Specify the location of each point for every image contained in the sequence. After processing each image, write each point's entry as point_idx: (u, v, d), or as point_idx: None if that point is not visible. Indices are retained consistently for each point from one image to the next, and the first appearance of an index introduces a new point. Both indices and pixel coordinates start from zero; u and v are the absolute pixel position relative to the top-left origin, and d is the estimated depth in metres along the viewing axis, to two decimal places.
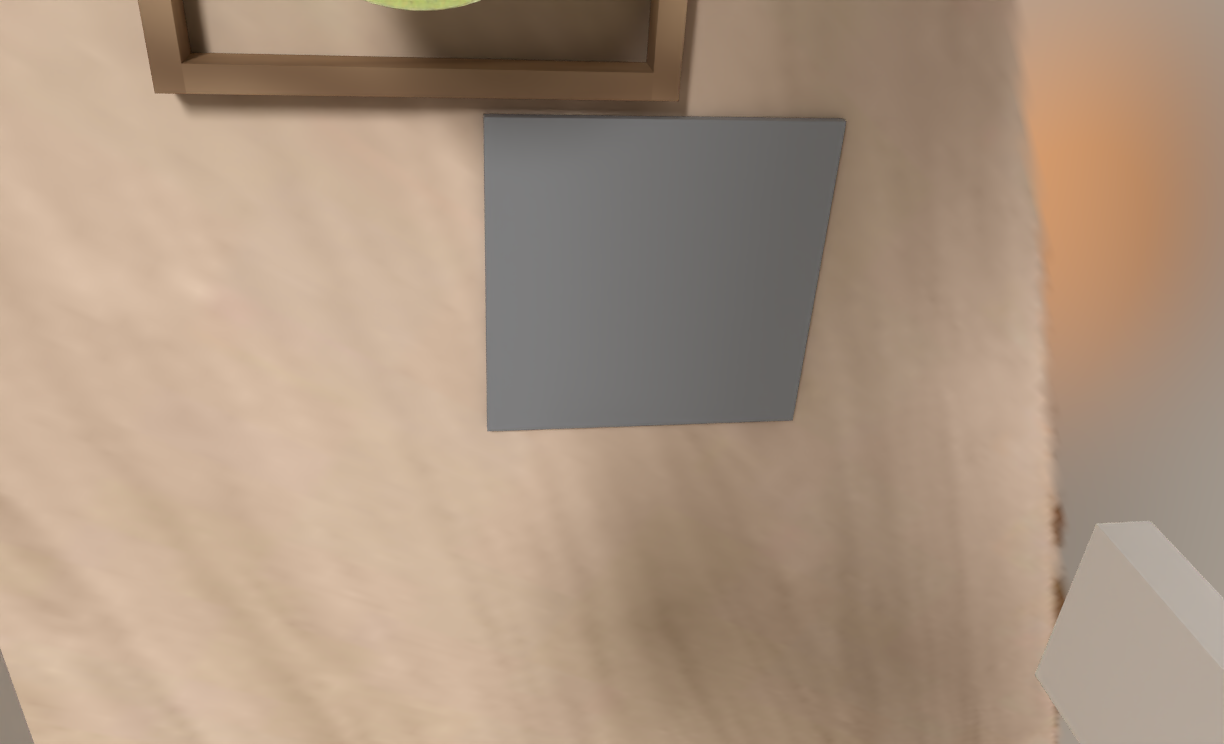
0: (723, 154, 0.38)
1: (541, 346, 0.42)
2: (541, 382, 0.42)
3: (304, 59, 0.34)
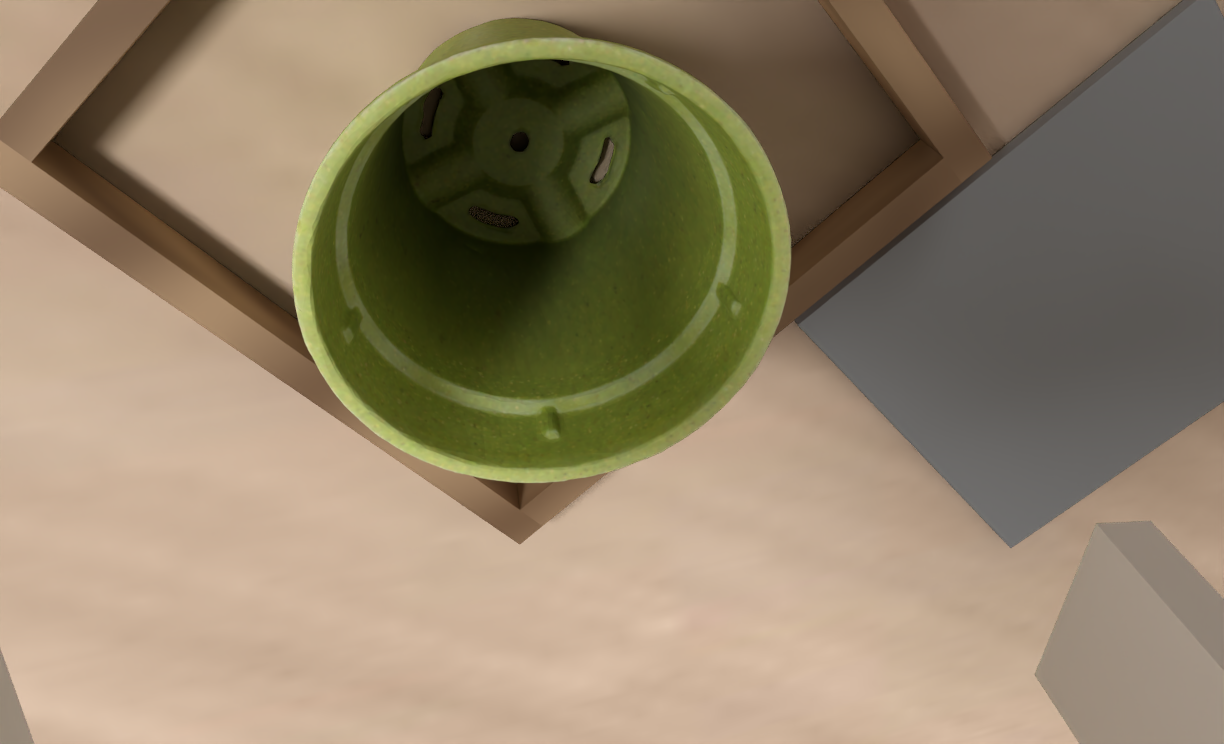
0: (1078, 146, 0.28)
1: (1010, 449, 0.34)
2: (1033, 476, 0.35)
3: None
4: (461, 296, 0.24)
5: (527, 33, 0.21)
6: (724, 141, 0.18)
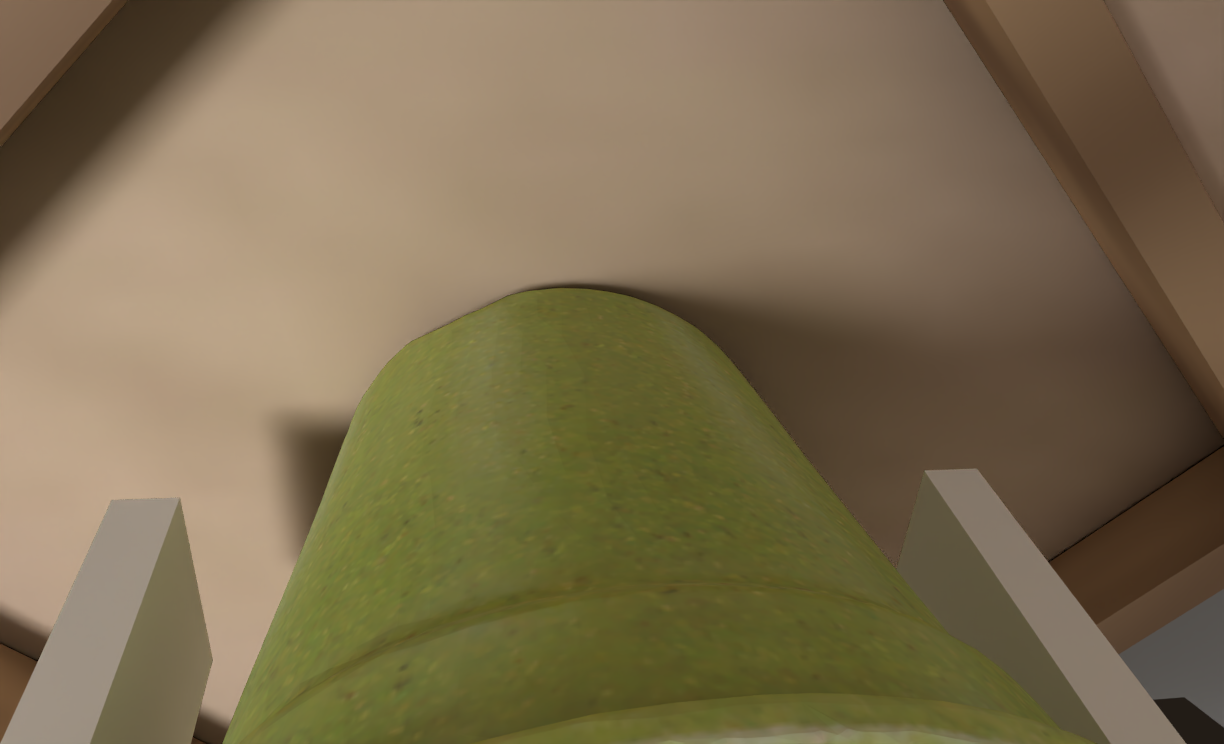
0: None
1: None
2: None
3: None
4: None
5: (594, 388, 0.10)
6: None
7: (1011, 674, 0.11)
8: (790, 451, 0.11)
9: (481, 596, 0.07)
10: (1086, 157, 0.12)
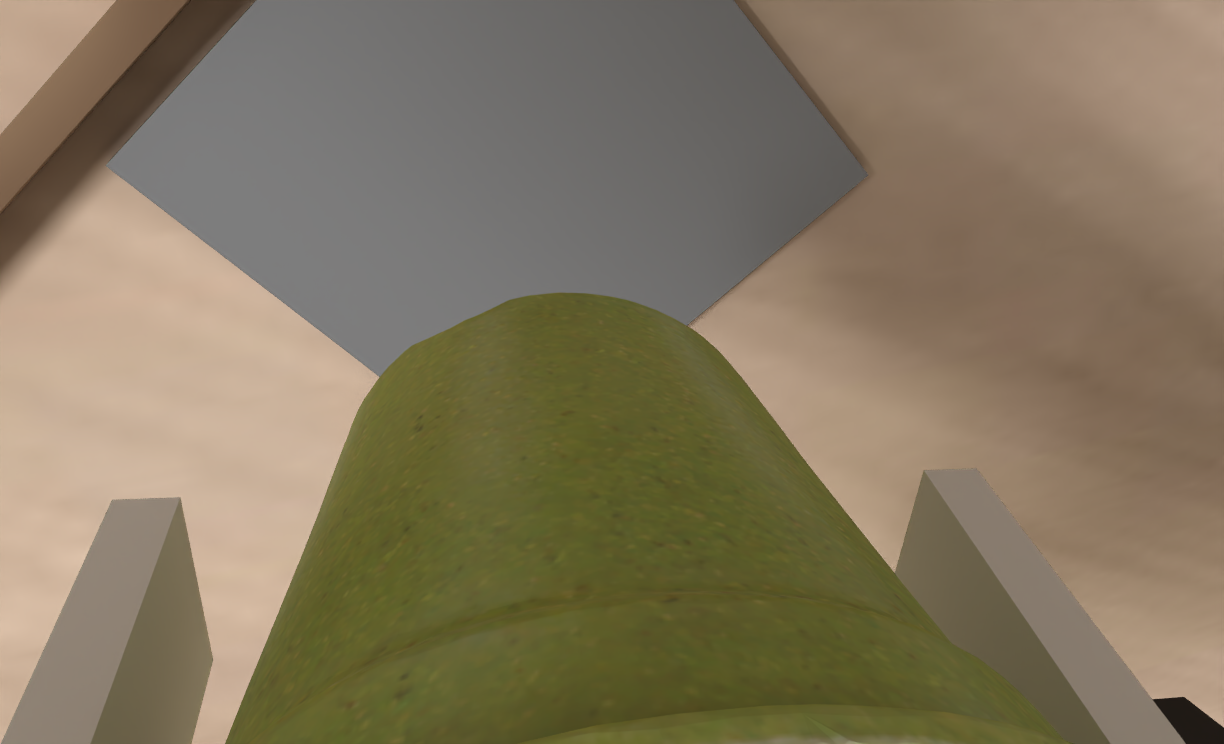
0: None
1: None
2: None
3: None
4: None
5: (594, 394, 0.10)
6: None
7: (1010, 674, 0.11)
8: (790, 457, 0.11)
9: (481, 604, 0.07)
10: None
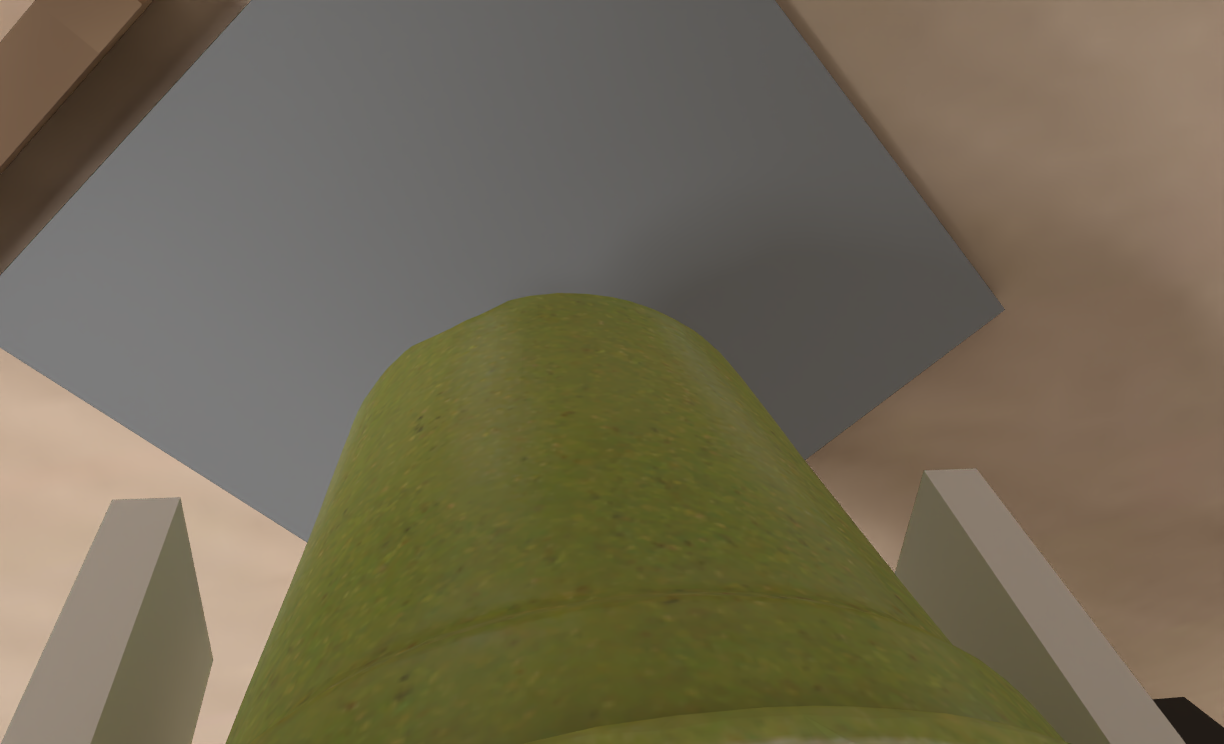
0: (379, 3, 0.15)
1: None
2: None
3: None
4: None
5: (594, 394, 0.10)
6: None
7: (1010, 674, 0.11)
8: (791, 457, 0.11)
9: (482, 606, 0.07)
10: None
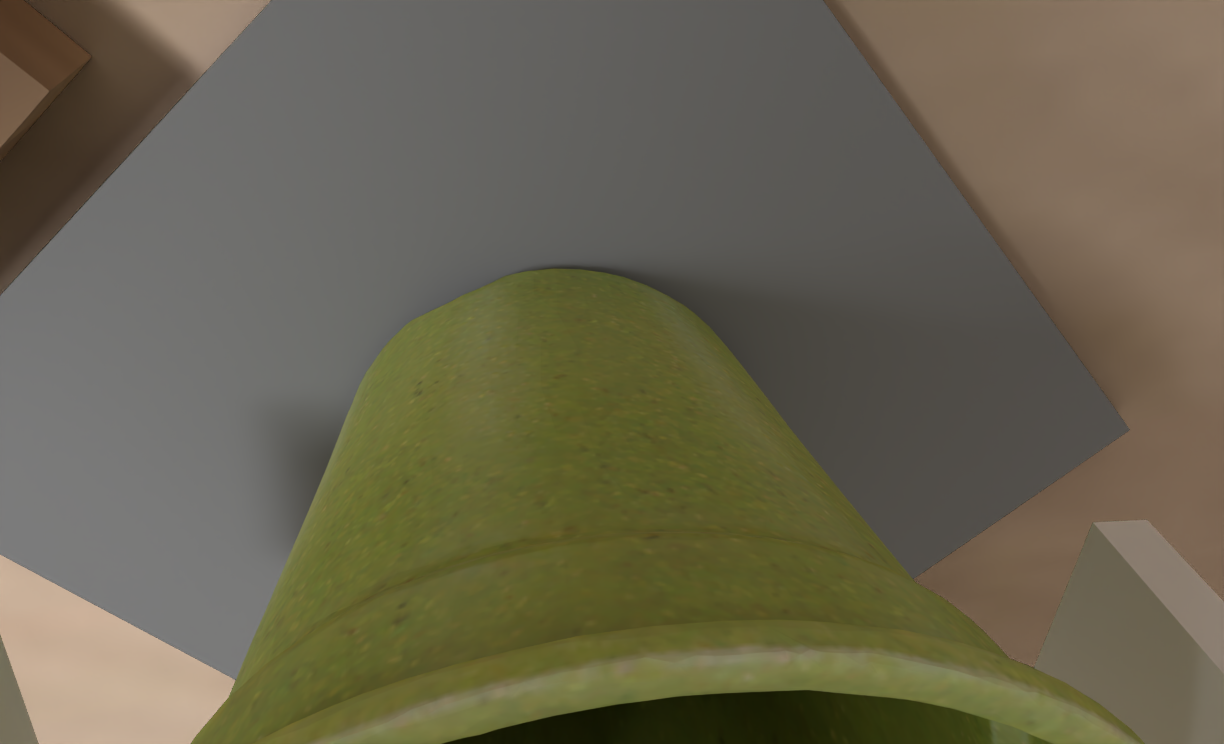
0: (368, 80, 0.12)
1: None
2: None
3: None
4: None
5: (586, 359, 0.11)
6: None
7: None
8: (775, 421, 0.11)
9: (475, 544, 0.08)
10: None
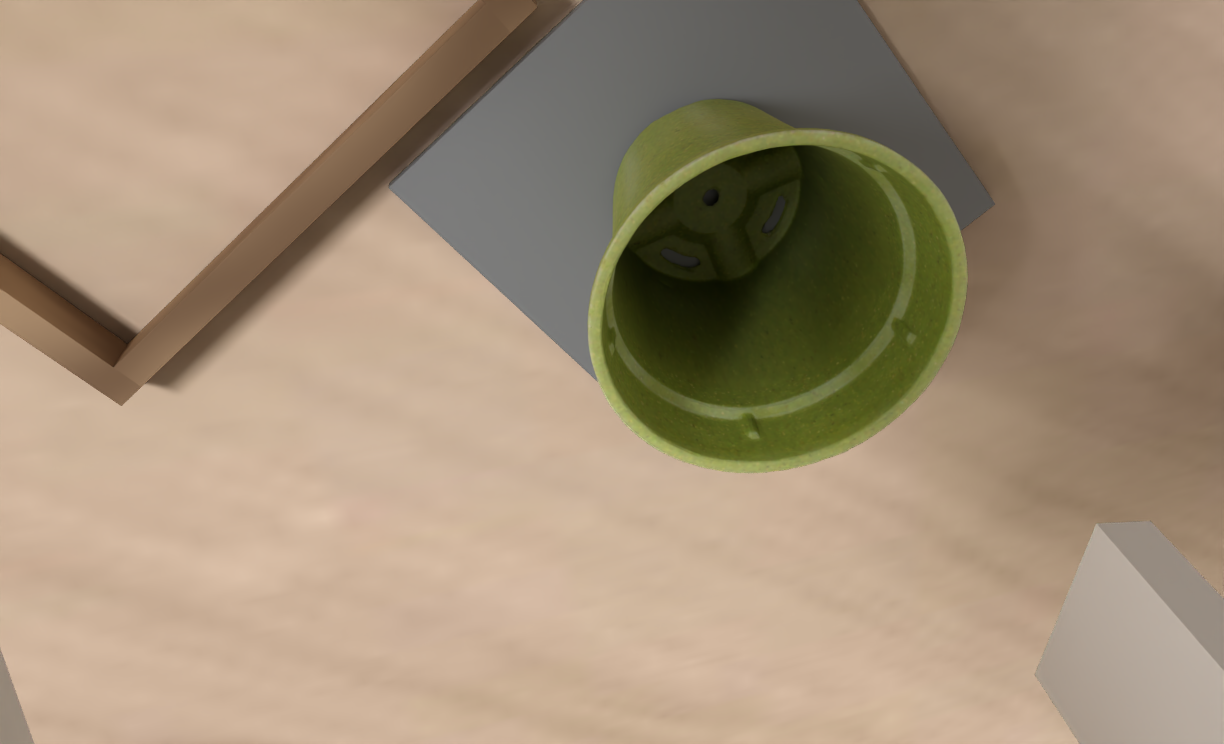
0: (648, 9, 0.28)
1: None
2: None
3: (200, 276, 0.30)
4: (665, 322, 0.30)
5: (747, 115, 0.27)
6: (921, 208, 0.24)
7: None
8: None
9: None
10: None
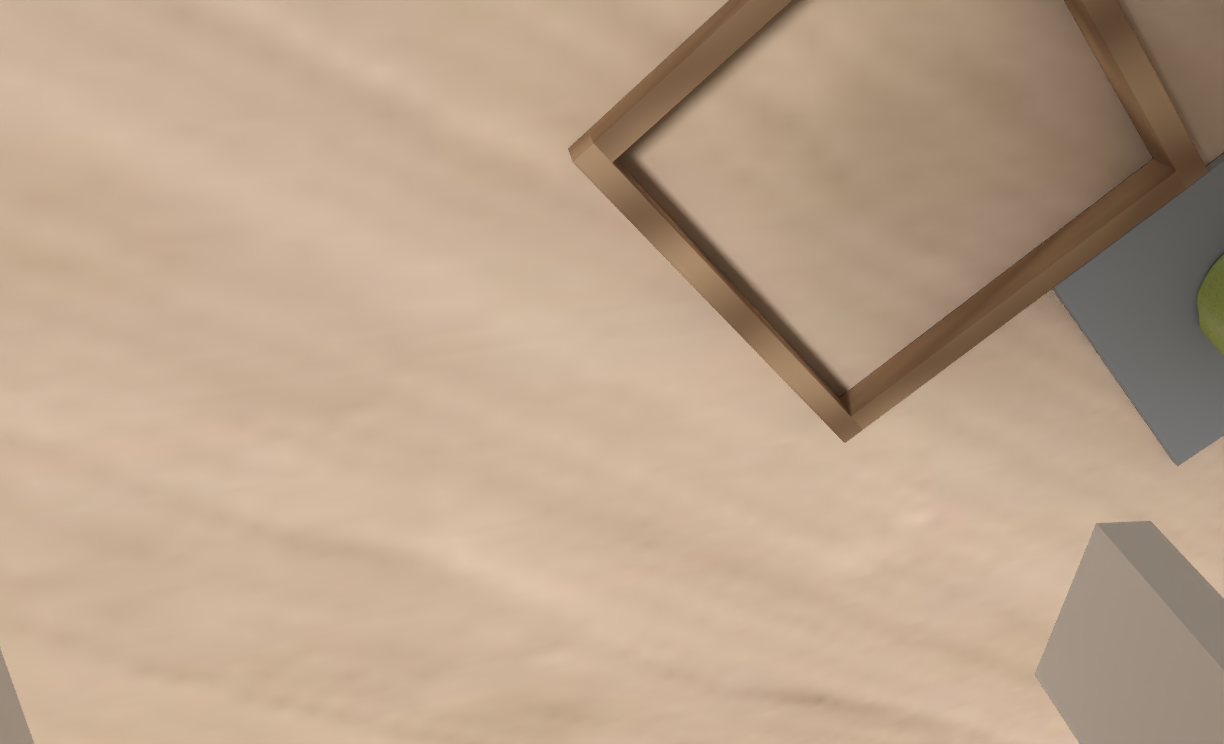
0: None
1: (1187, 387, 0.46)
2: (1201, 409, 0.47)
3: (915, 351, 0.43)
4: None
5: None
6: None
7: None
8: None
9: None
10: (1096, 24, 0.35)
